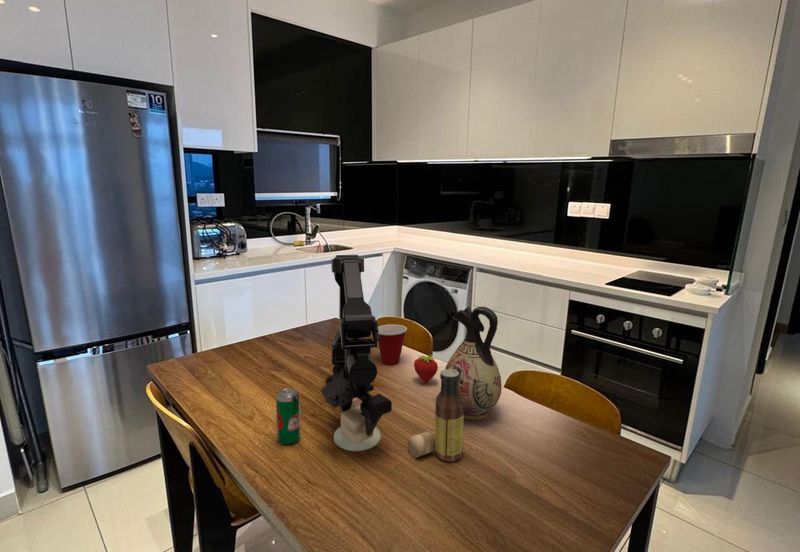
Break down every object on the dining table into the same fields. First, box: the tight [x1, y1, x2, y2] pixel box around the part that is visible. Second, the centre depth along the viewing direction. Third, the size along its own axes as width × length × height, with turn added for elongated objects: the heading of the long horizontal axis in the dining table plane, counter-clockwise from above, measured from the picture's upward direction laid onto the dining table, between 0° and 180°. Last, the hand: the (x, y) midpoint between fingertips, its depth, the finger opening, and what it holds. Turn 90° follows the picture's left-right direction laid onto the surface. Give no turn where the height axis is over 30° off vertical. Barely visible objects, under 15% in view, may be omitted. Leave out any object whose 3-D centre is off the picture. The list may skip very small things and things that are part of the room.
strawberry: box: [413, 354, 439, 384], centre depth 128 cm, size 6×8×10 cm
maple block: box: [340, 406, 373, 445], centre depth 100 cm, size 6×6×6 cm
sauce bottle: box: [434, 368, 465, 463], centre depth 93 cm, size 6×6×20 cm
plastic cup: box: [377, 323, 408, 366], centre depth 141 cm, size 11×11×12 cm
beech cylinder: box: [407, 431, 436, 459], centre depth 95 cm, size 4×4×4 cm
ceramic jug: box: [444, 306, 503, 420], centre depth 109 cm, size 17×15×30 cm
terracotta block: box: [341, 397, 362, 412], centre depth 113 cm, size 4×4×4 cm
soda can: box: [275, 387, 301, 446], centre depth 98 cm, size 5×5×12 cm
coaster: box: [333, 426, 381, 452], centre depth 101 cm, size 11×11×1 cm
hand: (357, 426), depth 100 cm, fingers open, 9 cm apart
